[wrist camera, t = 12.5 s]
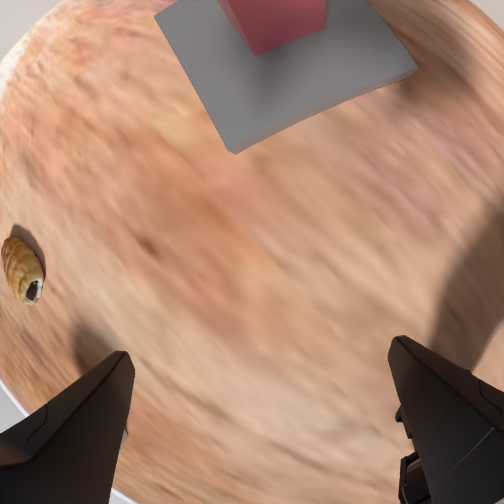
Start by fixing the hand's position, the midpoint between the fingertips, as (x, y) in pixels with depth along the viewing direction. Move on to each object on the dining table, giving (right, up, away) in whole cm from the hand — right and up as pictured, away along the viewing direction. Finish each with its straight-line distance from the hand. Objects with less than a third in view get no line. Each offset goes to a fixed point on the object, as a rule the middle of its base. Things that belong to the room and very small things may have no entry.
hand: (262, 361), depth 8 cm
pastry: (-29, +1, +19) cm, 34 cm away
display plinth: (+2, +20, +8) cm, 22 cm away
